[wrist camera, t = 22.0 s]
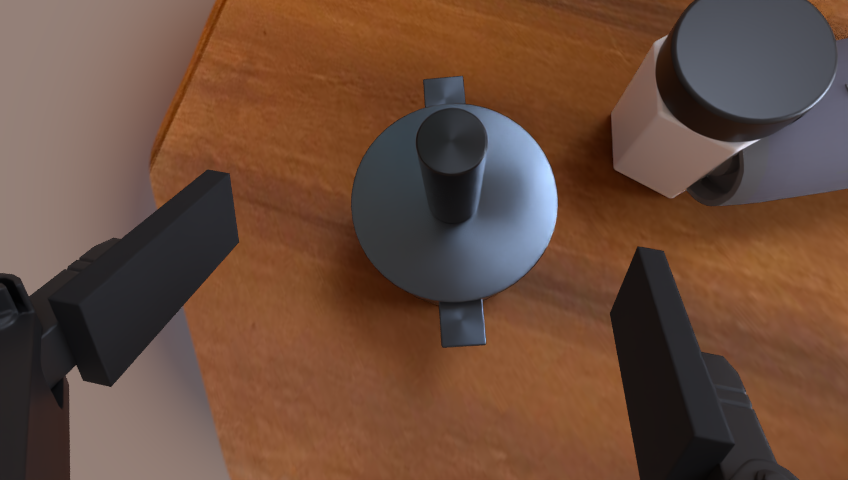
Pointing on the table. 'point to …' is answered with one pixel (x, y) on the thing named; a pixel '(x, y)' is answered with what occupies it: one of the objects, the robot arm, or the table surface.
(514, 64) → the table surface
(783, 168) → the bluetooth speaker
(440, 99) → the pot
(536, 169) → the lid
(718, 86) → the jar
